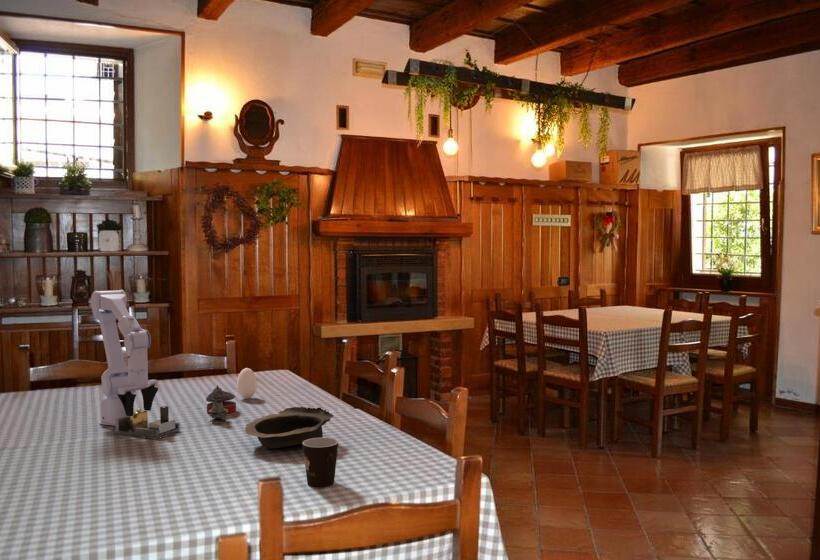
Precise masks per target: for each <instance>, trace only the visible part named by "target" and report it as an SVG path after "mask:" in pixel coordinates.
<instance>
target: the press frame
mask: <svg viewBox="0 0 820 560" xmlns="http://www.w3.org/2000/svg"><path fill="white" fill-rule="evenodd" d="M115 421H116V426H115V430H113V431H114V434H115V435H120V434H121V435H120V436H128V435H130V436H129V437H136V436H138V438H144V437H147V438H146V439H152V438H154V439H153V440H158V438H159V439H161V438H164V437H166V435H167V436H170V435H172V433H173V434H175V432H176V433H178V431H179V432H180V431H181V430H180V427H181V426H180V422H176V421H175V429H172V430H169V431H166V432H163V433H160V434H159V430H155V429H149V423H148V428H139V427H136V428H135V430H131V421H130V416H126V417H122V418H119V419H115ZM169 434H170V435H169ZM163 436H164V437H163ZM160 437H161V438H160Z"/></svg>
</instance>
